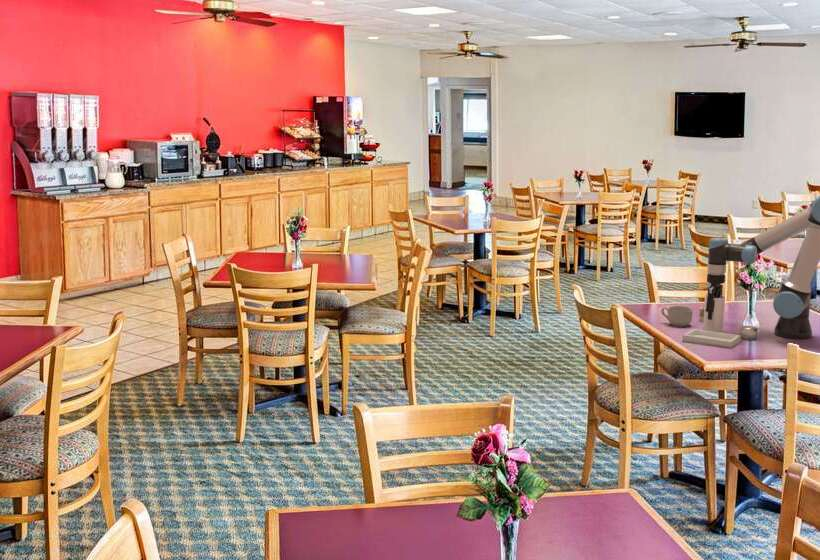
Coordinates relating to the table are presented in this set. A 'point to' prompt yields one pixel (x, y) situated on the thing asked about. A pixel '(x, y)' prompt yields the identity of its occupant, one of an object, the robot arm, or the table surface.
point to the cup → (715, 315)
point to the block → (701, 314)
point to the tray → (711, 338)
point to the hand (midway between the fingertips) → (713, 324)
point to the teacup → (678, 315)
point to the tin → (748, 332)
